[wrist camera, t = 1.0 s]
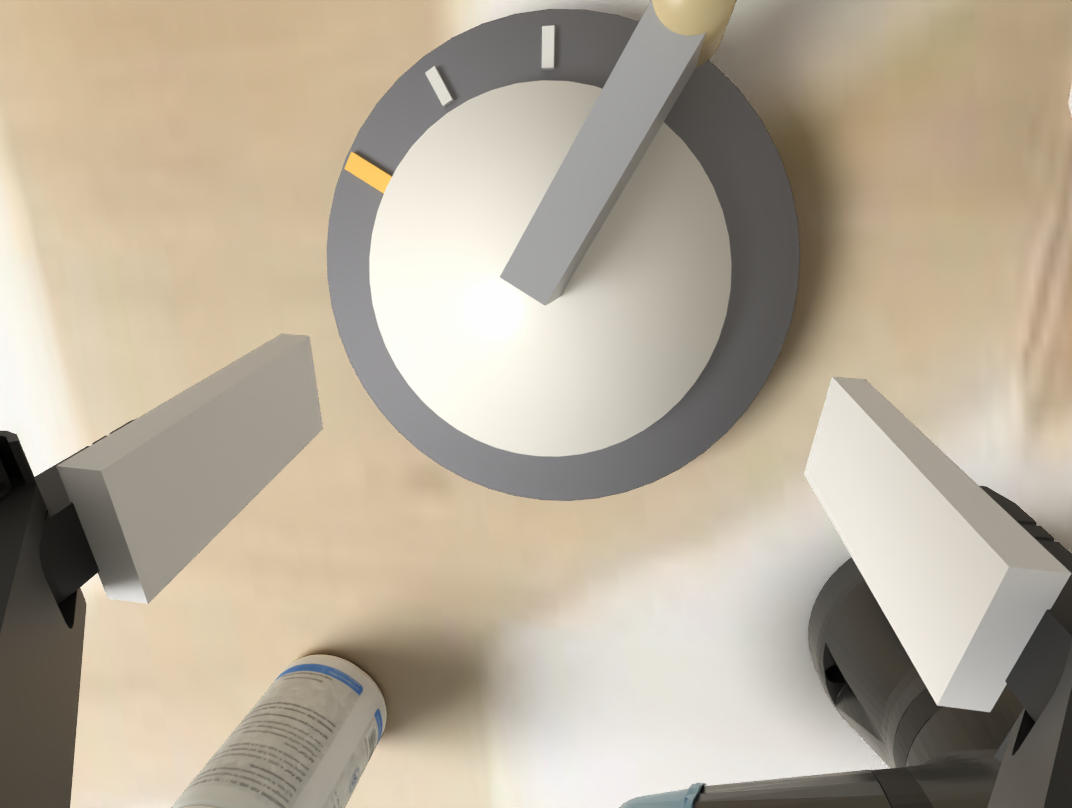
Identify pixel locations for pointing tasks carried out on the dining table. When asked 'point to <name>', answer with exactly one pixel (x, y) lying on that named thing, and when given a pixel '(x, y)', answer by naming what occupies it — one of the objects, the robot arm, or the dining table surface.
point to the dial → (559, 251)
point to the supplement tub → (297, 742)
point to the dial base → (728, 160)
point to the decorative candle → (1070, 101)
